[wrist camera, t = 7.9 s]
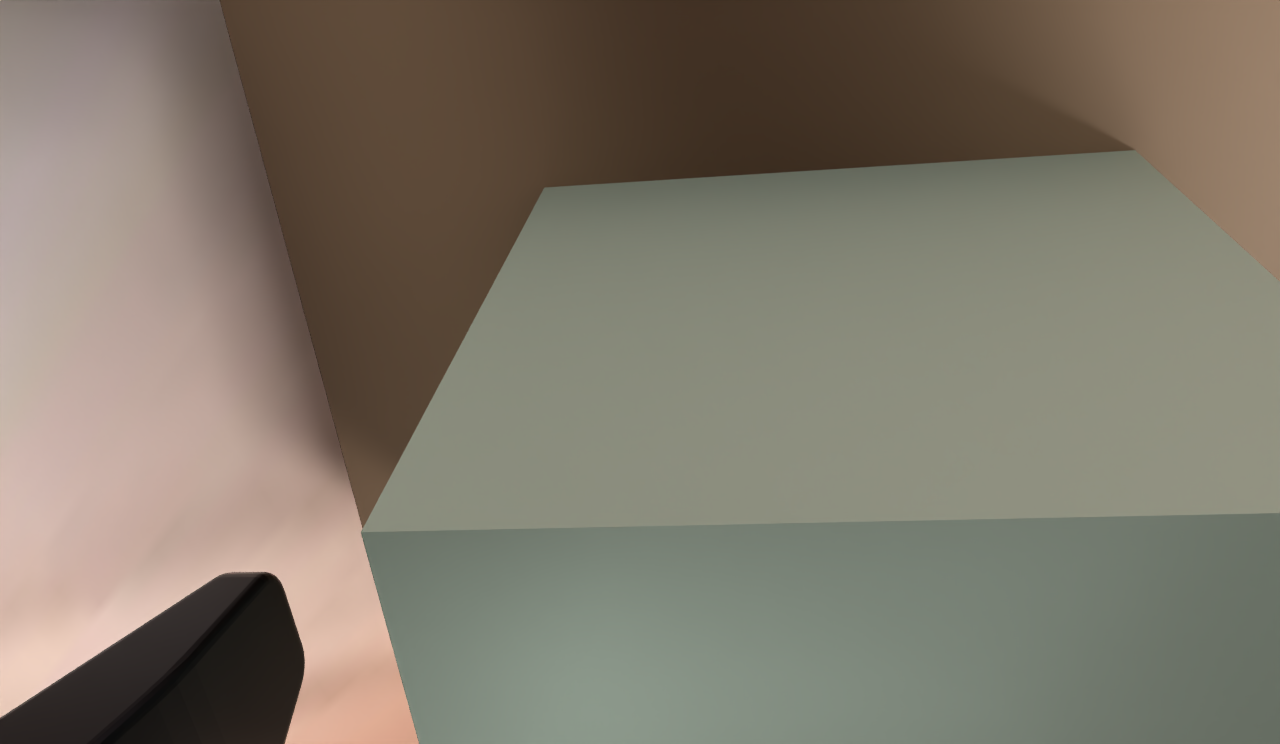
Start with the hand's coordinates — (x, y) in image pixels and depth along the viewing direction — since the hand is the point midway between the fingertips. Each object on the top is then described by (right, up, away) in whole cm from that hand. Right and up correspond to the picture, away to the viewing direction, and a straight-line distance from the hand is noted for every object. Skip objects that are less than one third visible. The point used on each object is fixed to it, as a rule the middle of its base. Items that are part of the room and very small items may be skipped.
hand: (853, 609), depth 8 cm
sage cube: (0, +1, +2) cm, 3 cm away
